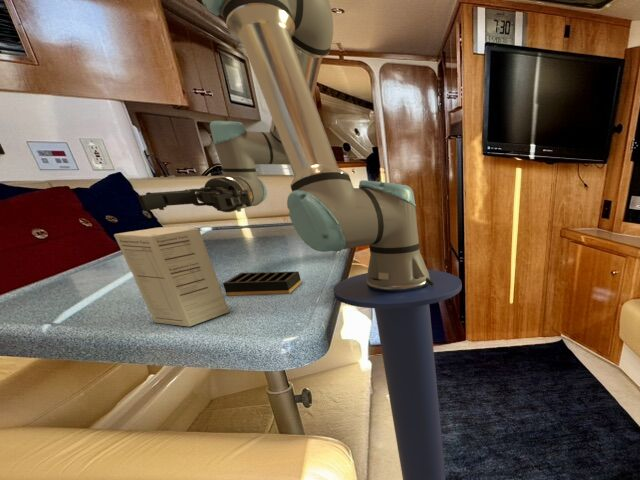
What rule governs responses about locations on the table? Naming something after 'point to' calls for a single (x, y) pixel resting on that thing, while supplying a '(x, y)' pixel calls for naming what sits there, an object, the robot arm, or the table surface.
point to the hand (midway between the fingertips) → (180, 203)
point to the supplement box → (173, 274)
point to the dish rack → (262, 283)
